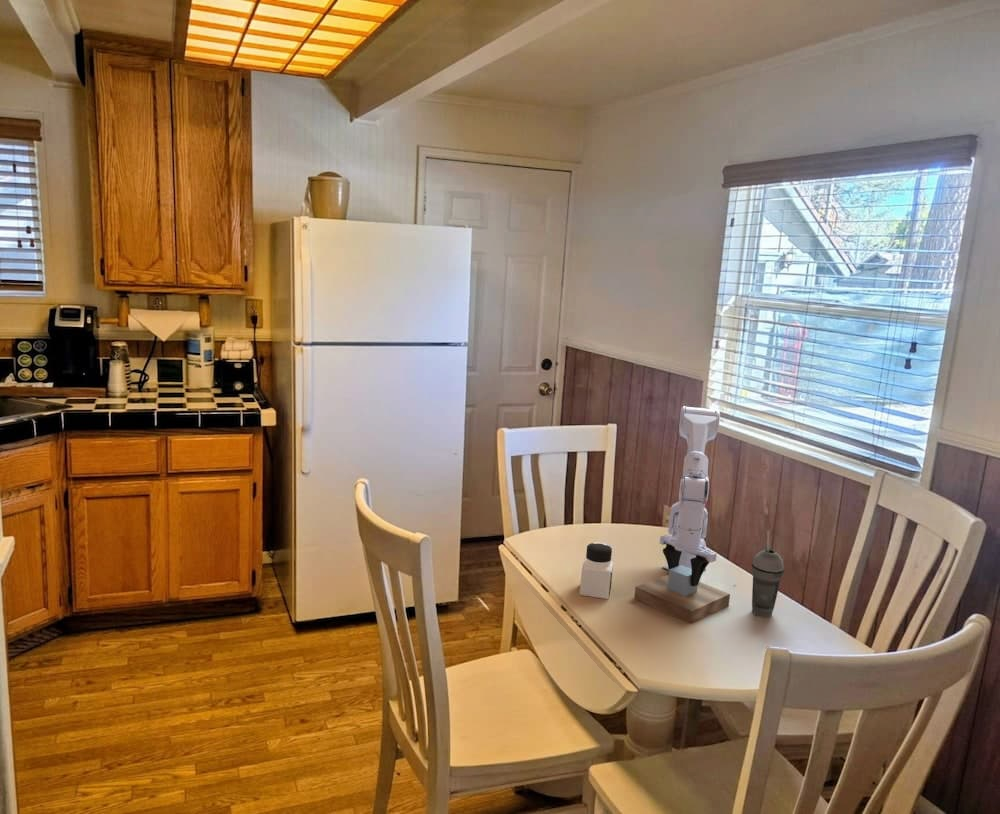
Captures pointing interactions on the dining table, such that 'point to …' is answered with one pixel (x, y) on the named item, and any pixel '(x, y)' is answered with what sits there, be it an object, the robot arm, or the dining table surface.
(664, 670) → the dining table surface
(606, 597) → the medicine bottle
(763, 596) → the beverage cup
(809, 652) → the dining table surface
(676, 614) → the walnut plinth
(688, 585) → the slate block
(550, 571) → the dining table surface
